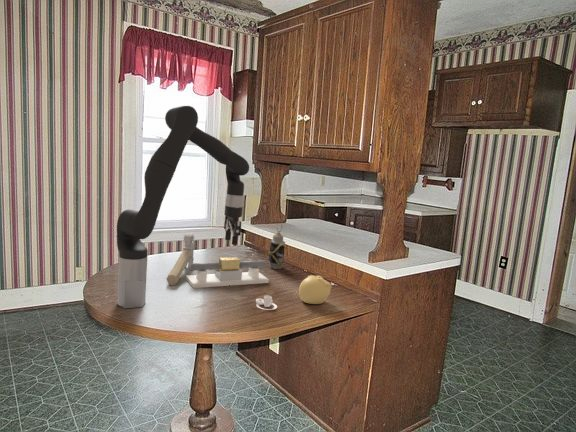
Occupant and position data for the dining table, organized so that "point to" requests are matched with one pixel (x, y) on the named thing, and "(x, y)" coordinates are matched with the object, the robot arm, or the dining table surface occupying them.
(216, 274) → the shaft rig
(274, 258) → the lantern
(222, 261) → the gold rectangular block
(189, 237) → the hammer
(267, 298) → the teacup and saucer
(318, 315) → the dining table surface
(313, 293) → the tan round ball
